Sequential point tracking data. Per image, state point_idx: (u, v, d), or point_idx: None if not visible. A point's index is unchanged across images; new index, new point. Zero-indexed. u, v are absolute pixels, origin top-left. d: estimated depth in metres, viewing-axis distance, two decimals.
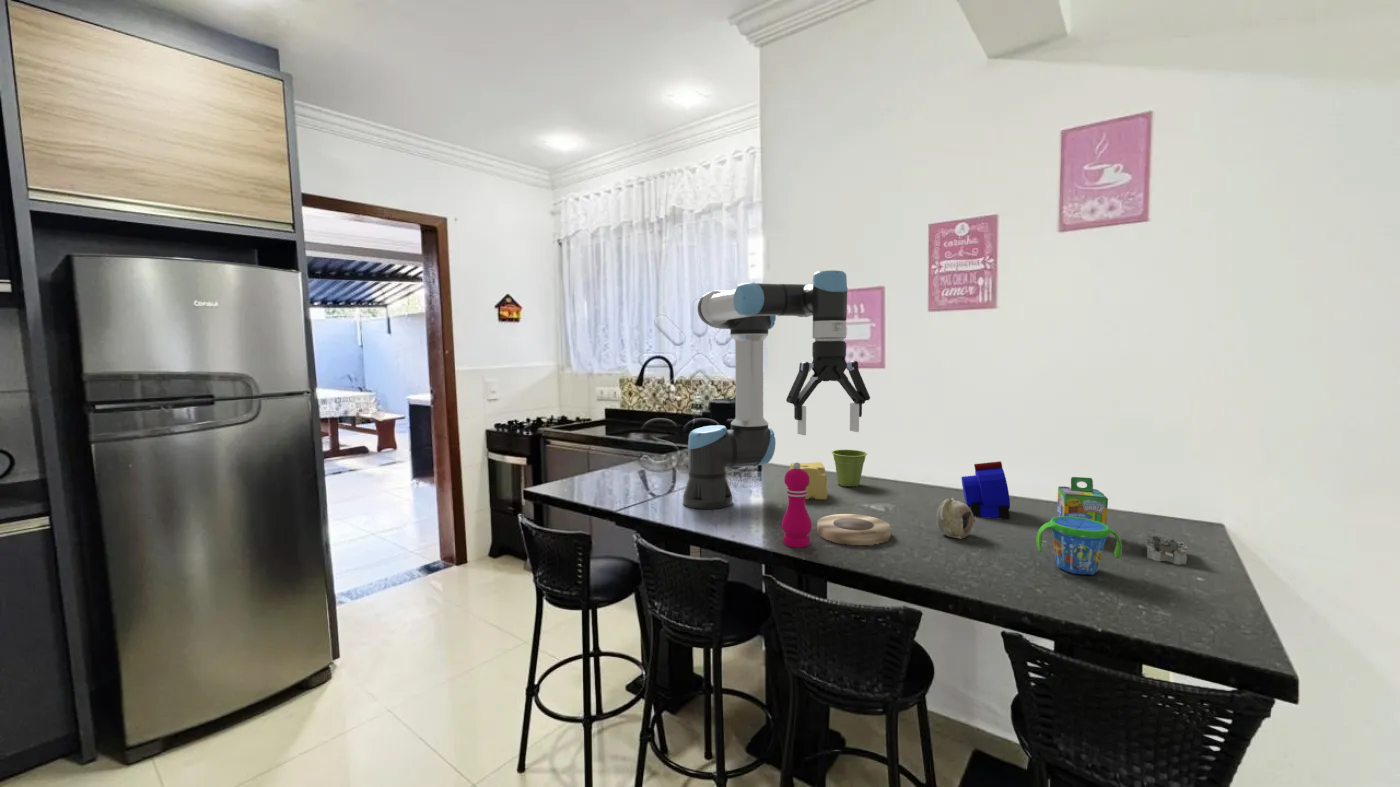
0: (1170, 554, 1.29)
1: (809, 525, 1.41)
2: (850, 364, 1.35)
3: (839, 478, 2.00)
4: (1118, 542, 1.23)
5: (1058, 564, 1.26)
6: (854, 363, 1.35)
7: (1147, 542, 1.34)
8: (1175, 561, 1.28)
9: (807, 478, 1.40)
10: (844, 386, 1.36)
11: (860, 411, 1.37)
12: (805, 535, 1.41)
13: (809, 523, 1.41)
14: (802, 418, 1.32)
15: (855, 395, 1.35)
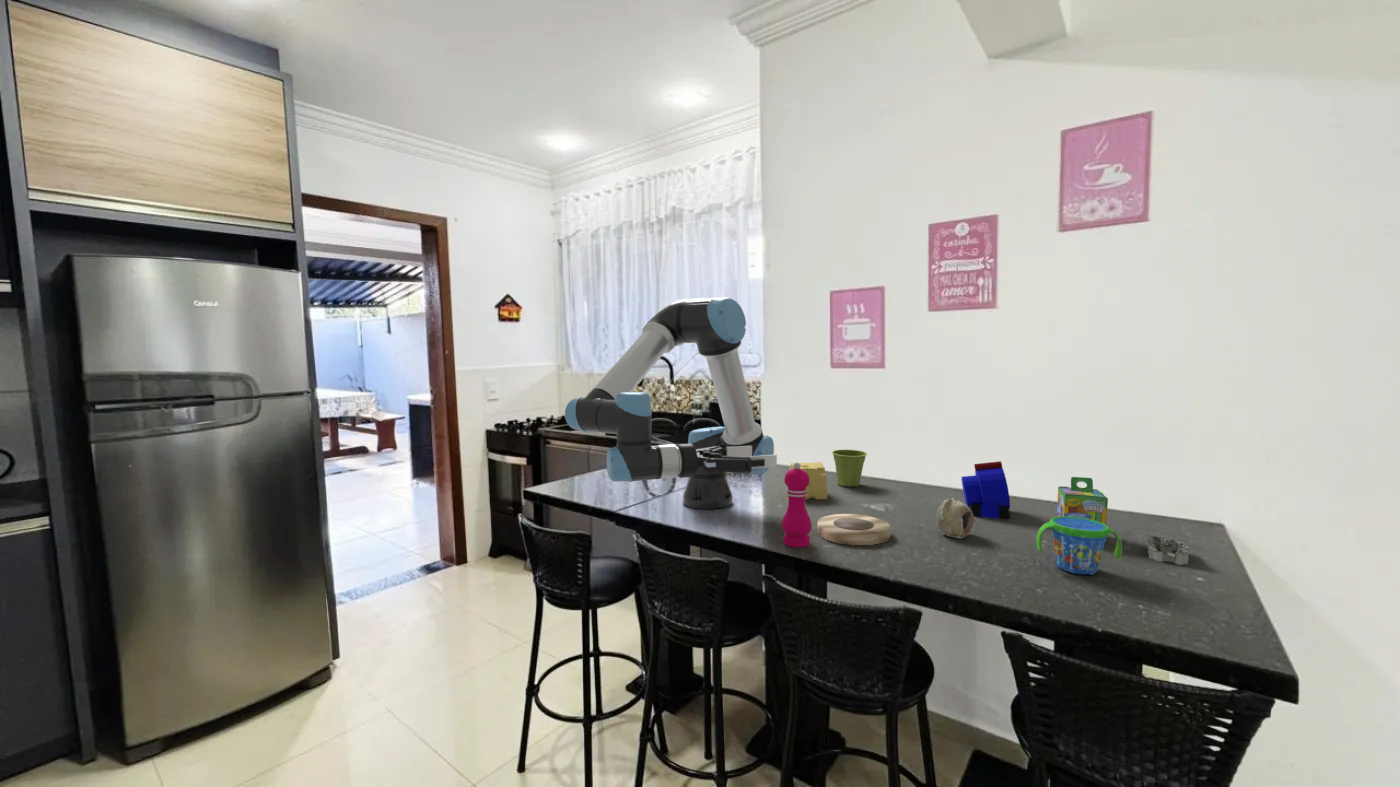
0: (1172, 554, 1.28)
1: (809, 525, 1.41)
2: None
3: (839, 478, 2.00)
4: (1118, 542, 1.23)
5: (1058, 564, 1.26)
6: None
7: (1148, 542, 1.34)
8: (1177, 561, 1.28)
9: (807, 478, 1.40)
10: None
11: None
12: (805, 535, 1.41)
13: (809, 523, 1.41)
14: None
15: None
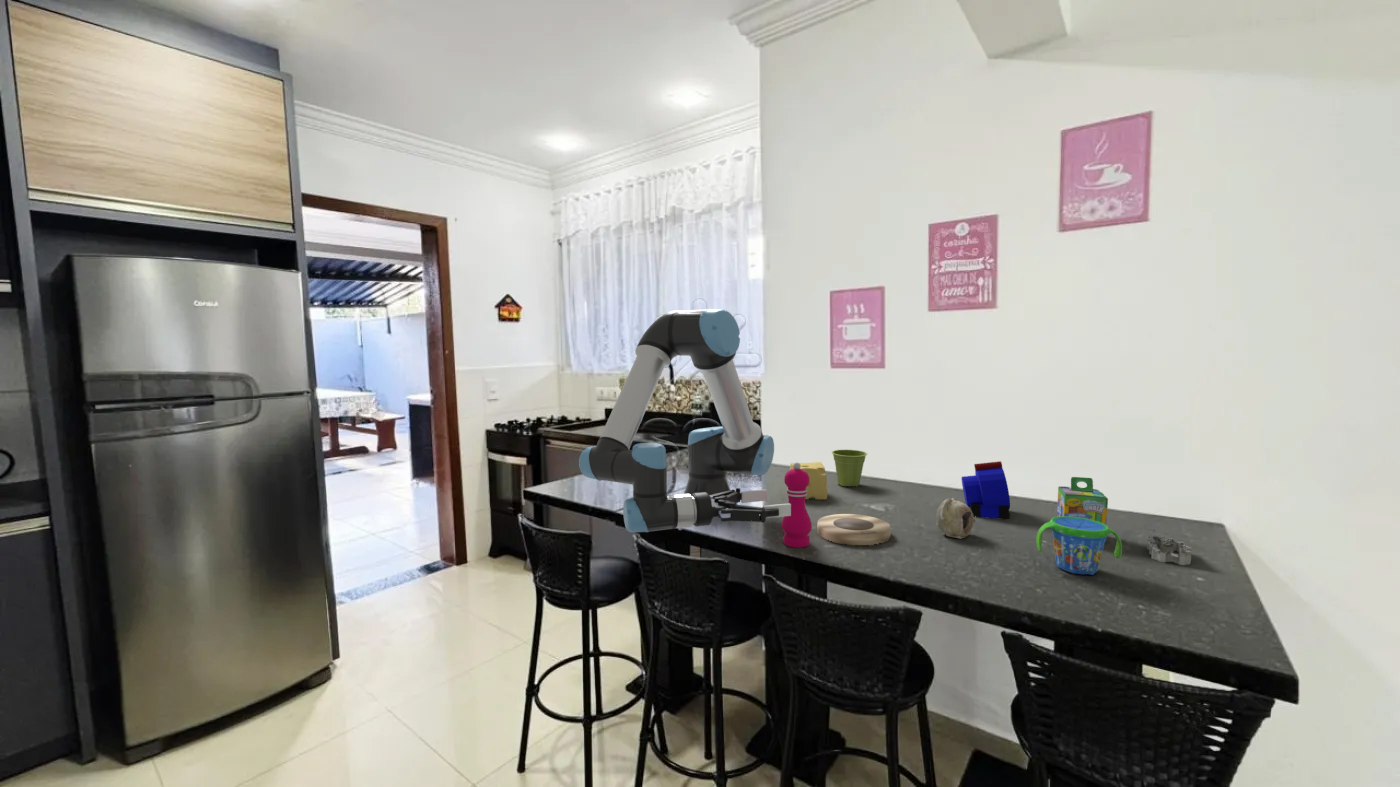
0: (1175, 555, 1.28)
1: (809, 525, 1.41)
2: None
3: (839, 478, 2.00)
4: (1118, 542, 1.23)
5: (1058, 564, 1.26)
6: None
7: (1150, 543, 1.34)
8: (1180, 562, 1.28)
9: (807, 478, 1.40)
10: None
11: None
12: (805, 535, 1.41)
13: (809, 523, 1.41)
14: None
15: None
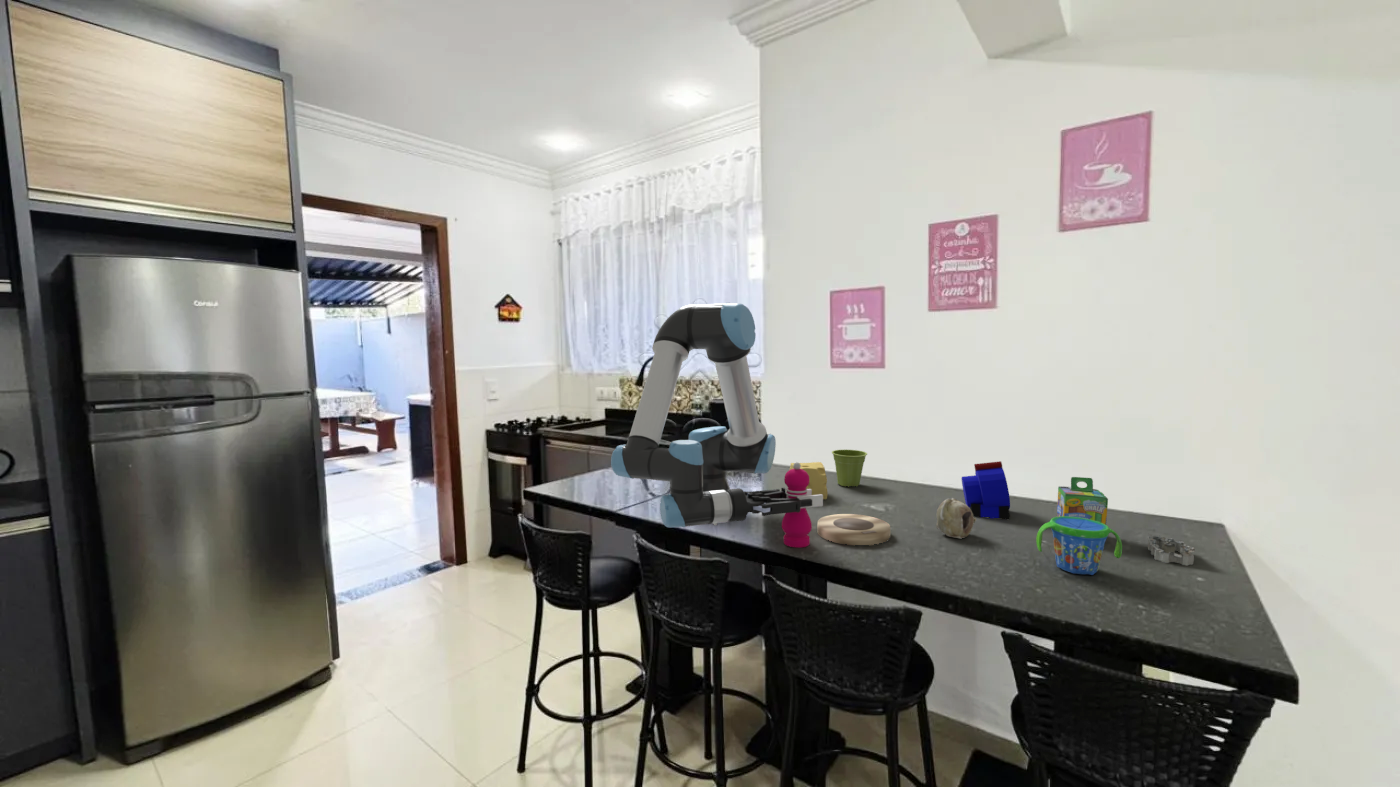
0: (1178, 555, 1.28)
1: (809, 525, 1.41)
2: None
3: (839, 478, 2.00)
4: (1118, 542, 1.23)
5: (1058, 564, 1.26)
6: None
7: (1152, 543, 1.34)
8: (1183, 562, 1.27)
9: (807, 478, 1.40)
10: None
11: None
12: (805, 535, 1.41)
13: (809, 523, 1.41)
14: None
15: None
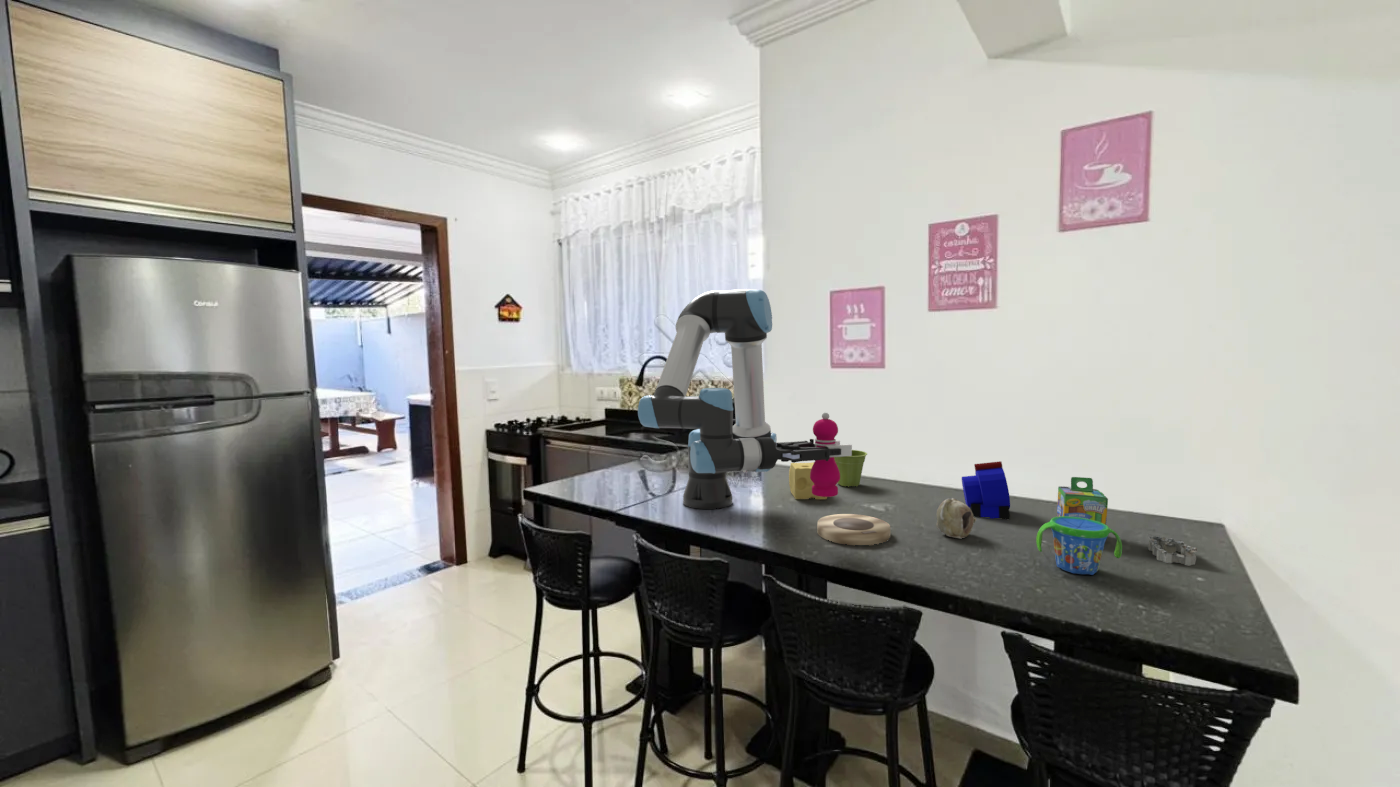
0: (1181, 555, 1.28)
1: (838, 474, 1.41)
2: (791, 457, 1.35)
3: None
4: (1118, 542, 1.23)
5: (1058, 564, 1.26)
6: None
7: (1153, 544, 1.33)
8: (1186, 562, 1.27)
9: (836, 427, 1.41)
10: None
11: (835, 454, 1.39)
12: (833, 485, 1.41)
13: (838, 473, 1.41)
14: None
15: None
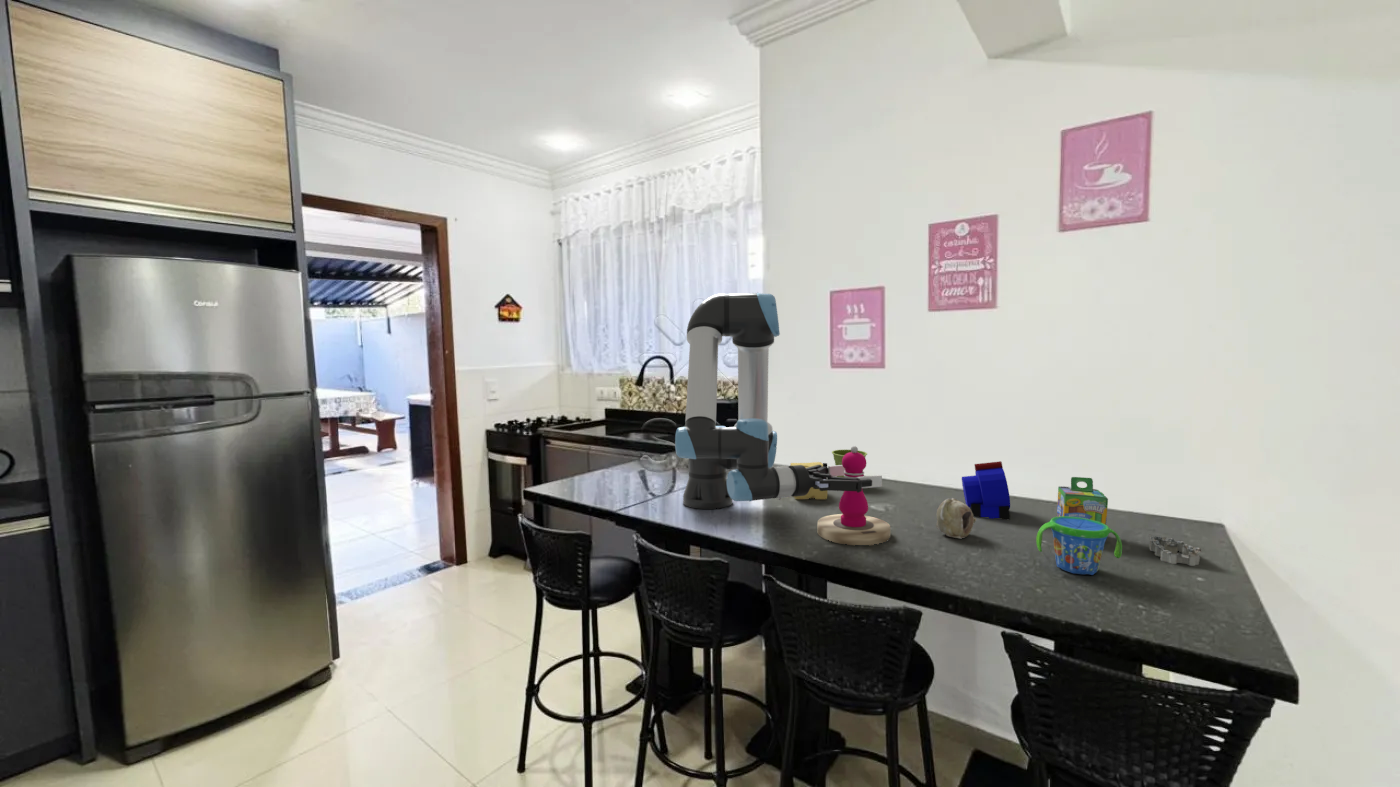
0: (1185, 556, 1.28)
1: (866, 506, 1.47)
2: None
3: None
4: (1118, 542, 1.23)
5: (1058, 564, 1.26)
6: None
7: (1156, 544, 1.33)
8: (1191, 563, 1.27)
9: (864, 461, 1.47)
10: None
11: None
12: (862, 515, 1.48)
13: (866, 504, 1.47)
14: None
15: None
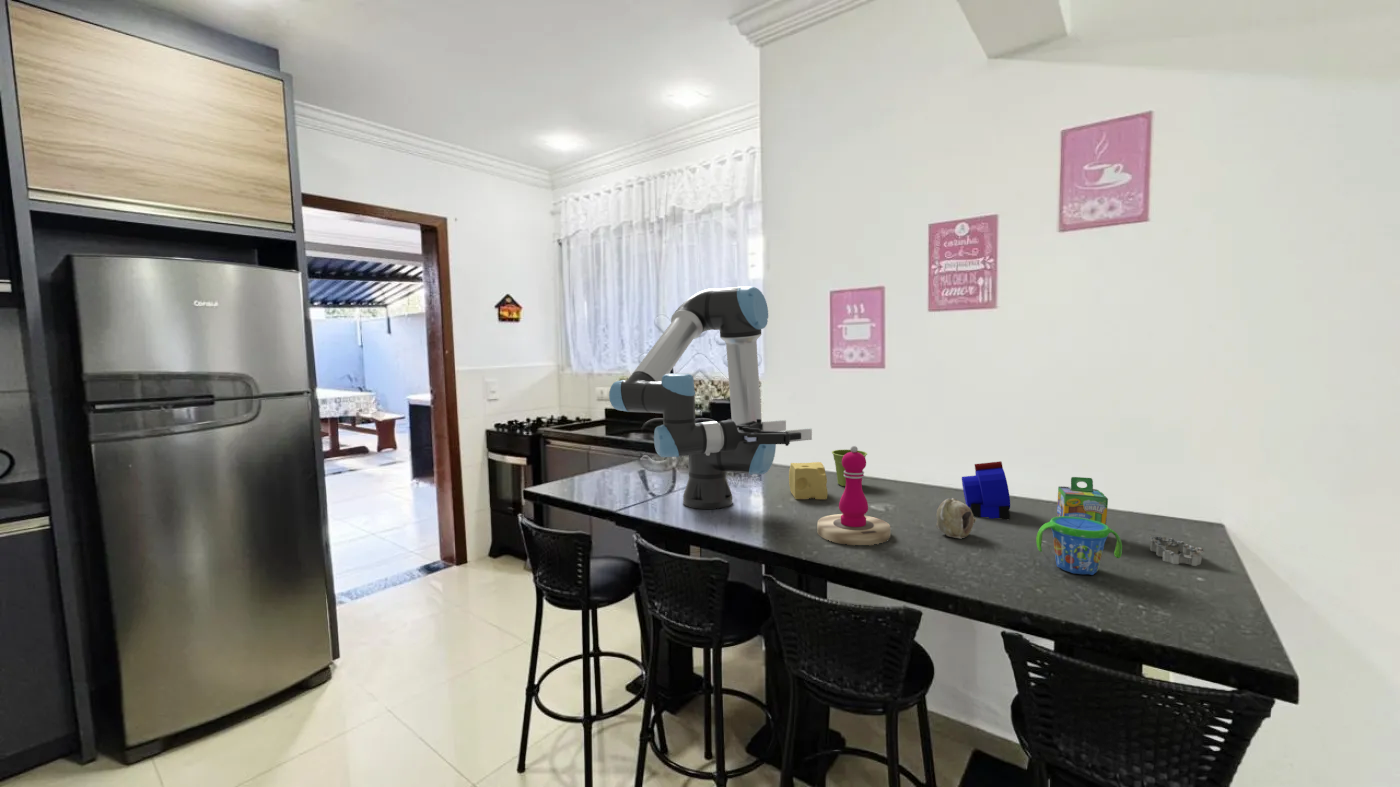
0: (1188, 556, 1.27)
1: (866, 505, 1.47)
2: None
3: (839, 478, 2.00)
4: (1118, 542, 1.23)
5: (1058, 564, 1.26)
6: None
7: (1157, 544, 1.33)
8: (1193, 563, 1.27)
9: (864, 460, 1.47)
10: None
11: None
12: (862, 515, 1.48)
13: (866, 504, 1.47)
14: None
15: None
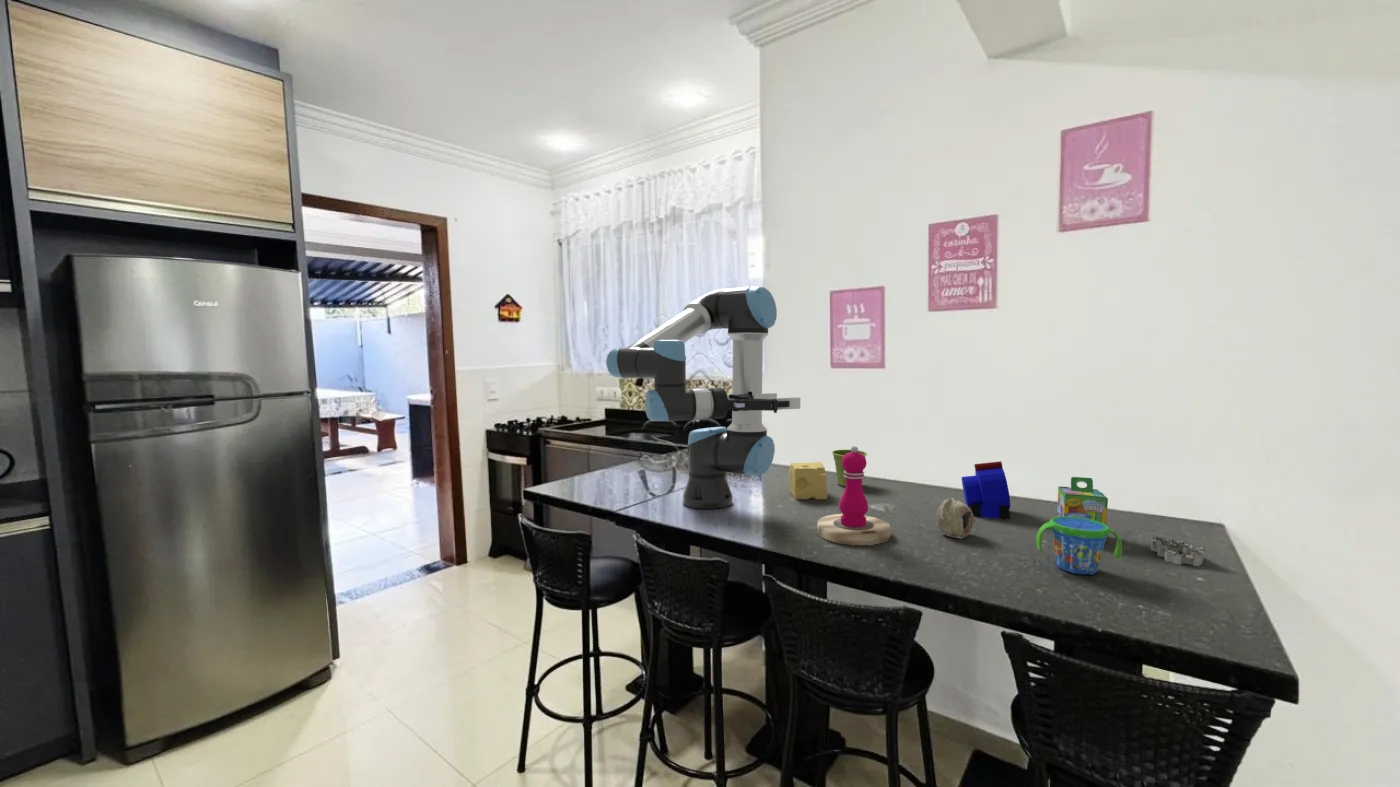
0: (1190, 556, 1.27)
1: (866, 506, 1.47)
2: None
3: (839, 478, 2.00)
4: (1118, 542, 1.23)
5: (1058, 564, 1.26)
6: None
7: (1159, 545, 1.33)
8: (1195, 563, 1.27)
9: (864, 461, 1.47)
10: None
11: (784, 406, 1.42)
12: (862, 515, 1.48)
13: (866, 504, 1.47)
14: None
15: None
